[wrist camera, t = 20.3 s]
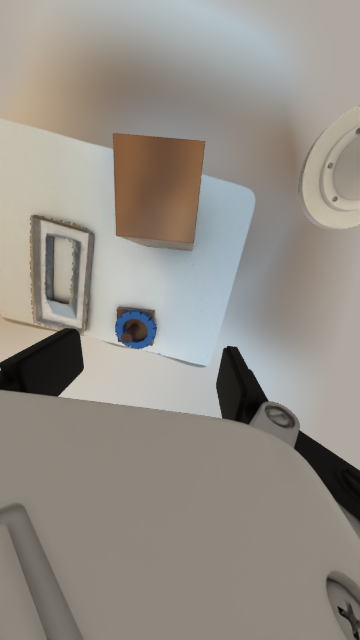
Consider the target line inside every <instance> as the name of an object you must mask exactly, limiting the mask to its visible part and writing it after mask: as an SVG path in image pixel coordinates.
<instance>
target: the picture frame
mask: <svg viewBox="0 0 360 640" xmlns="http://www.w3.org/2000/svg"><path fill="white" fill-rule="evenodd" d="M30 220H31V223H30V225H31V230H30V234H31V235H30V244H31V246H30V248H31V249H30V251H31V253H30V256H31V261H30V265H31V266H30V270H31V272H30V277H31V280H32V284H31V286H32V288H31V293H32V297H31V298H32V300H31V305H33V307H32V310H33V311H32V315H33V321H34V323H37V324H39V325H43V326H45V327H47V326H48V327H50V328H56V329H59V330H62V329H64V328H73V329H77V331H78V332H79V333H80V335H81V336H84V331H85V330H86V329H87V321H88V319H87V318H88V304H89V290H90V276H91V267H92V255H93V246H94V234H92V233H89V230H88V229H87V228H86V229H85V228H84V227H83V228H81V227H80V226H77V225H76V224H75V223H74V224H72V225H71V223H70V222H63V221H62V220H61V221H58V220H53V219H48V218H45V217H44V216H38V215H31V217H30ZM53 236H58V237H62V238H64V239H68V240H69V241H70V242H72V243H73V247H72V248H73V249H74V250H73V253H72V256H73V263H72V264H73V268H72V270H73V275H72V279H71V281H72V284H71V288H70V291H71V297H70V299H69V304H68V305H67V304H61V303H59V302H55V301H53Z"/></svg>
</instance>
